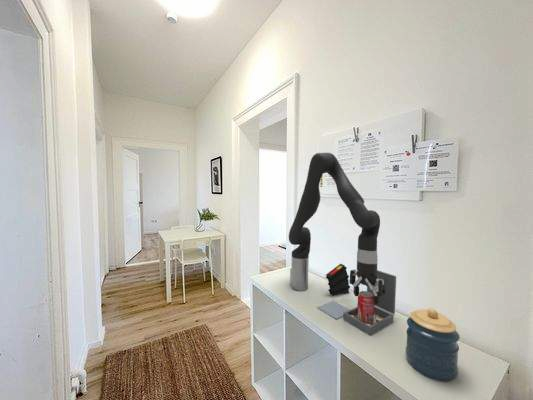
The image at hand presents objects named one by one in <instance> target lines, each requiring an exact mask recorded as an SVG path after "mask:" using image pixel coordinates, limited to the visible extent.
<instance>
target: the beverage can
mask: <svg viewBox="0 0 533 400" xmlns="http://www.w3.org/2000/svg"><path fill="white" fill-rule="evenodd" d="M356 305H357V306H356V307H357V315H356V319H358V320H360V321H361V322H363V323H365V324H369V325H373V324H375V321H374V320H375V314H374V297H373V294H372V293H370V292H367V290H365V291H364V290H362V291H359V294H358V296H357V304H356Z"/></svg>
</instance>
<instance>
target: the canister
mask: <svg viewBox="0 0 533 400" xmlns="http://www.w3.org/2000/svg"><path fill="white" fill-rule="evenodd" d="M406 324H407V326H408V327H407V328H406V346H405V354H406V355H405V356H406V359H407V361H408V363H409V364H410V365H411V366H412V368H414V369H415V370H416V371H418V372H419V373H420V374H422V375H423V376H426V377H428V378H430V379H433V380H436V381H442V382H451V381H454V380H456V378H457V375H458V373H459V367H458V357H459V350H460V347H459V344H458V341H460V334H459V333H458V331H457V326H456V323H454V322H453V321H452V320H450V318H448V317H447V316H446V315H444V314H442V313H439V312H437V310H436V309H434V308H429V309H417V310H413V311H412V312H411V313H410V316H409V317H408V318H407V319H406Z"/></svg>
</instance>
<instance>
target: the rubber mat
mask: <svg viewBox="0 0 533 400" xmlns="http://www.w3.org/2000/svg"><path fill="white" fill-rule="evenodd" d="M316 308H317V309H318V310H320V311H321V312H323V313H325V315H328V316H330V317H331V318H333V319H334V320H336V321H337V320H339V319H342V318H343V313H344V312H346V311H349V310H351V309H350V308H348V307H346V306H344V305H342V304H341V303H339V302H336V301H335V300H332V301H329V302H326V303H324V304H321V305H318V306H316Z"/></svg>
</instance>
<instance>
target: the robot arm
mask: <svg viewBox="0 0 533 400" xmlns="http://www.w3.org/2000/svg"><path fill="white" fill-rule="evenodd" d="M307 171H308V172H307V176H306V182H305V185H304V189H303V191H302V194H301V198H300V201H299V205H298V208H297V212H296V214H295V217H294V219H293V222H292V225H291V226H290V229H289V233H288V241H289V243H290V244H291V245H293V246H297V247H296V248H295V249H293V250H292V251H291V268H290V269H289V270H290V273H289V286H290V287H291V289H292V290H295V291H298V292H303V291H304V292H305V291H307V290H308V289H309V263H310V261H309V259H310V252H311V239H312V236H311V235H312V234H311V230H310V228H308V227H305V224H306V223H307V222H308V221H309V220H310V219H312V217H313V216H314V215H315V214H316V213H317V211H318V208H319V205H320V202H321V191H320V183H321V179H322V177H323V175H324V174H328V175H329V176H330V177H331V178H332V180H333V181H334V183H335V185H336V190H337V194H338V196H339V197H340V198H339V199H341V201H342V202H343V203H344V204H345V206H346V207H347V209H348V210H349V213H350V215H351V217H352V219H353V221H354V223H355V224H356V225H357V226H358V227H359V228H360V229H361V233H359V235H358V237H357V253H356V269H351V270H350V271H349V280H348V281H349V285H352V286H353V294H354V296H355V297H358V294H359V293H360V285H363V286H366V288H367V287H370V289H371V290H372V291H373V293H374V305H378V304H379V303H380V296H383V295H385V280H384V279H378V278H377V276H376V275H377V270H378V261H379V260H378V236H379V231H380V228H381V227H380V226H381V217H380V214H378V212H377V211H376V210H372V209H368V208H367V207H366V205H365V199H364V198H363V197H362V195H361V194H360V193H359V192H358V190H357V189H356V188H355V187H354V185H353V184H352V182H351V181H350V179H349V178H348V176H347V174H346V173H345V171H344V169H343V167H342V166H341V164H340V162H339V161H338V159H337V157H336V156H335V154H333V153H332V152H317V153H315V154H314V155H312V157H311V159H310V162H309V166H308V170H307ZM356 277H357V278H356ZM376 282H377V284H378V285H377V284H376ZM373 285H374V287H373ZM378 286H379V289H378Z"/></svg>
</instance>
